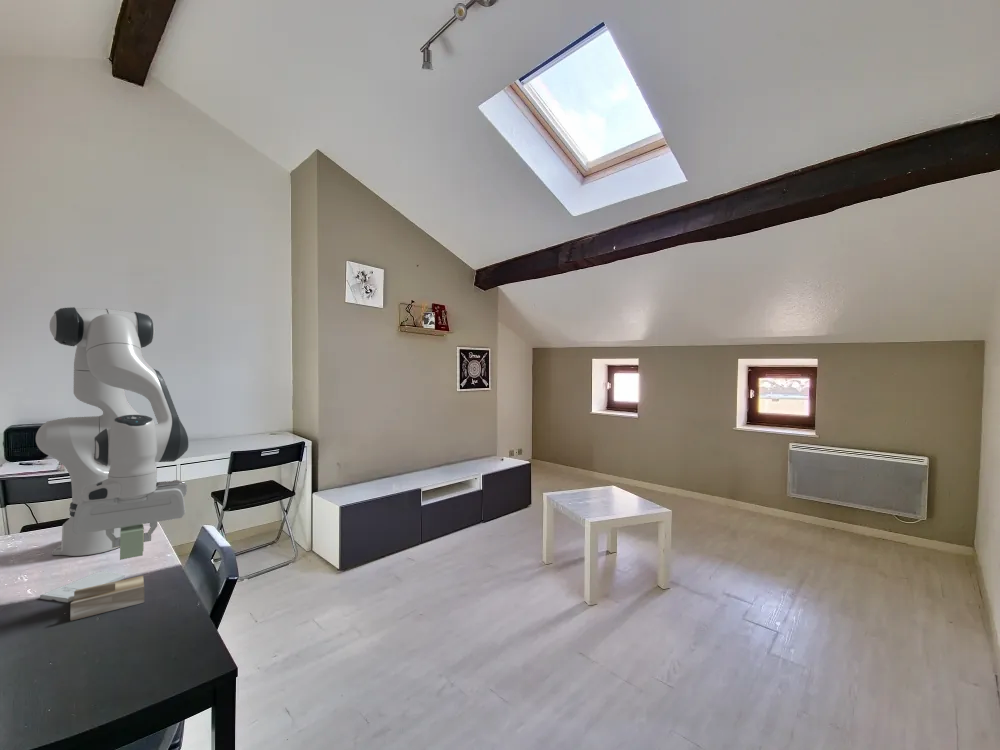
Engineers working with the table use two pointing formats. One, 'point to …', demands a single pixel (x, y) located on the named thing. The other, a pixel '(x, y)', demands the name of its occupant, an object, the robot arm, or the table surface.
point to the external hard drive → (81, 586)
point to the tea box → (131, 541)
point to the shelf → (107, 597)
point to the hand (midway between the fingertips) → (131, 543)
